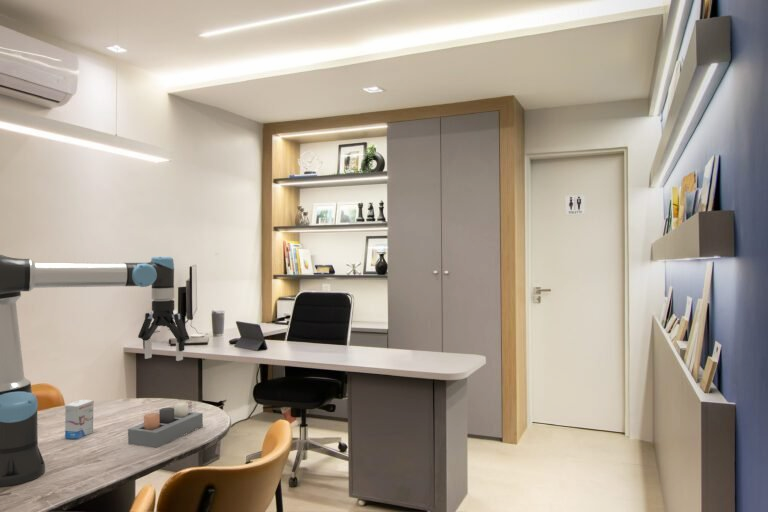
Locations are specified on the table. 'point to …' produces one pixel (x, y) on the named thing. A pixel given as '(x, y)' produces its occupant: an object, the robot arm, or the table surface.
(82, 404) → the ink box
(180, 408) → the button ivory
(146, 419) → the button terracotta
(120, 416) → the table surface
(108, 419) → the table surface
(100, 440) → the table surface
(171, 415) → the button black
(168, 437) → the panel
